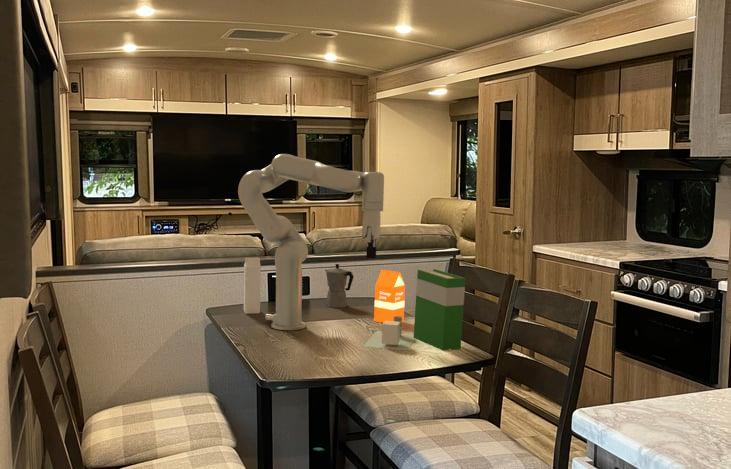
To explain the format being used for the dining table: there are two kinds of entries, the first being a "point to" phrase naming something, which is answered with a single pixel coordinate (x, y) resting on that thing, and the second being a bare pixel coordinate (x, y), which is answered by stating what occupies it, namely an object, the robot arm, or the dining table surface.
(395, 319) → the post
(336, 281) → the coffeepot
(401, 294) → the orange juice
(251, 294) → the milk
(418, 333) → the hardback book
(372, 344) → the mat
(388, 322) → the beige foam cube
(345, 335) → the dining table surface
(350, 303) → the dining table surface
